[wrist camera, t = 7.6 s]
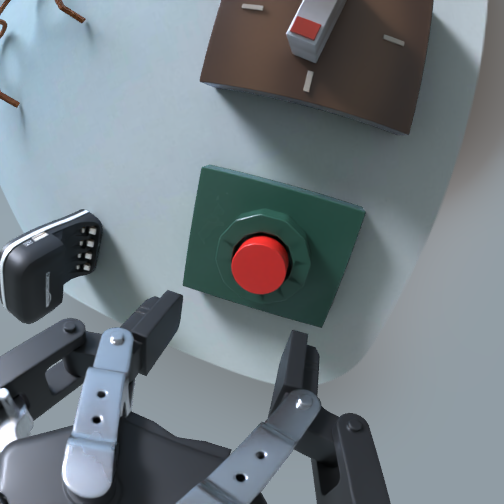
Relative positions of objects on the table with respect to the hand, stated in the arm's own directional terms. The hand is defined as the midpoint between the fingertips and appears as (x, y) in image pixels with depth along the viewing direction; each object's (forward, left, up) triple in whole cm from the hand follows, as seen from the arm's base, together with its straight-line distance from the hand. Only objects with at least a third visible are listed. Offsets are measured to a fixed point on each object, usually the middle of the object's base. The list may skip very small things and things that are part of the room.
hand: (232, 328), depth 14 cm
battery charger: (+17, +5, -12) cm, 21 cm away
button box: (0, 0, -11) cm, 11 cm away
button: (0, 0, -8) cm, 8 cm away
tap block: (0, -17, -11) cm, 20 cm away
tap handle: (0, -17, -8) cm, 19 cm away
